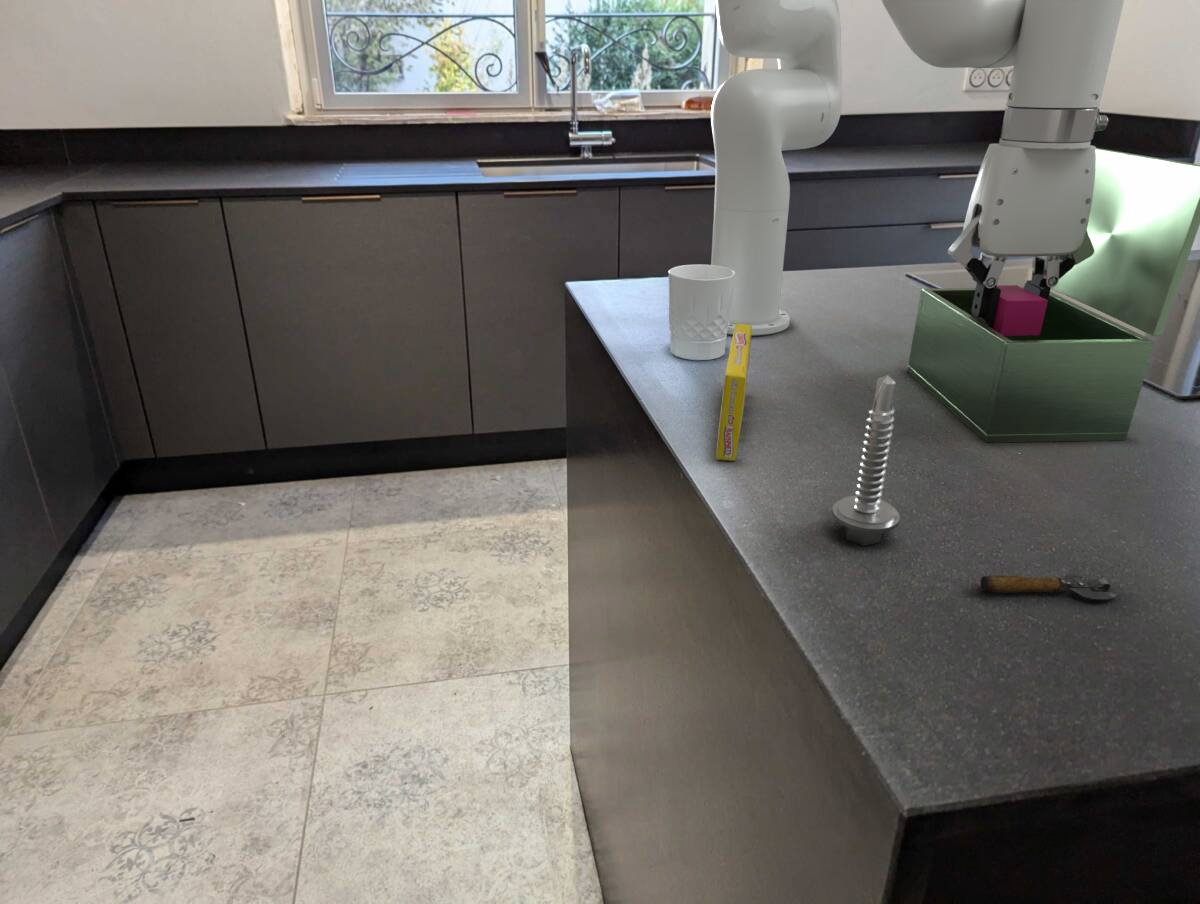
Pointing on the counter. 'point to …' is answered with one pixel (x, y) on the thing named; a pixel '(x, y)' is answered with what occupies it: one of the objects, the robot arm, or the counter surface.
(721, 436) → the candy box
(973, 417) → the bin
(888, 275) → the counter surface
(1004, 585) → the can opener
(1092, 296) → the bin lid
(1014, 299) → the block
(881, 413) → the screw
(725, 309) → the white cup
